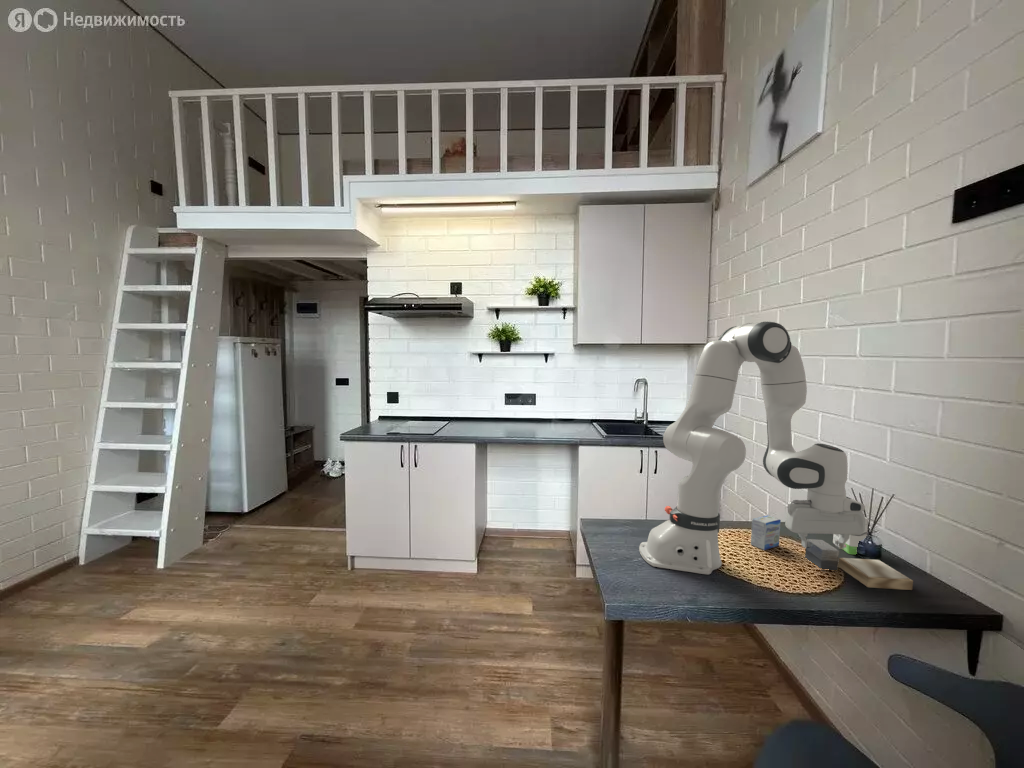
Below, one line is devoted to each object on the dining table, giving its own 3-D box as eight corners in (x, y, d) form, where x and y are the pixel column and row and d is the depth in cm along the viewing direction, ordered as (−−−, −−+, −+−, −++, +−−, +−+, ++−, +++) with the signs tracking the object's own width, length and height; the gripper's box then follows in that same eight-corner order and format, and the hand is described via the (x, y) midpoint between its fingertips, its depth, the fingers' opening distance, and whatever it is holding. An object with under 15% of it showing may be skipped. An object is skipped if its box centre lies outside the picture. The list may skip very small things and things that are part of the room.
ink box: (866, 556, 128) (869, 518, 128) (848, 554, 129) (851, 516, 128) (848, 543, 137) (851, 508, 136) (831, 542, 138) (834, 507, 137)
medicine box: (763, 550, 130) (766, 523, 129) (750, 544, 134) (751, 518, 133) (779, 546, 134) (781, 519, 133) (765, 540, 137) (767, 514, 137)
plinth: (867, 587, 110) (868, 576, 110) (838, 566, 121) (838, 556, 121) (912, 590, 110) (913, 579, 109) (878, 568, 121) (879, 559, 120)
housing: (820, 570, 119) (822, 549, 118) (804, 558, 126) (806, 538, 125) (837, 571, 118) (839, 550, 118) (820, 559, 125) (822, 539, 125)
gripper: (795, 503, 119) (792, 551, 120) (871, 505, 118) (867, 553, 119) (782, 496, 125) (779, 541, 126) (853, 498, 124) (850, 543, 125)
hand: (822, 547), depth 122 cm, fingers open, 8 cm apart
